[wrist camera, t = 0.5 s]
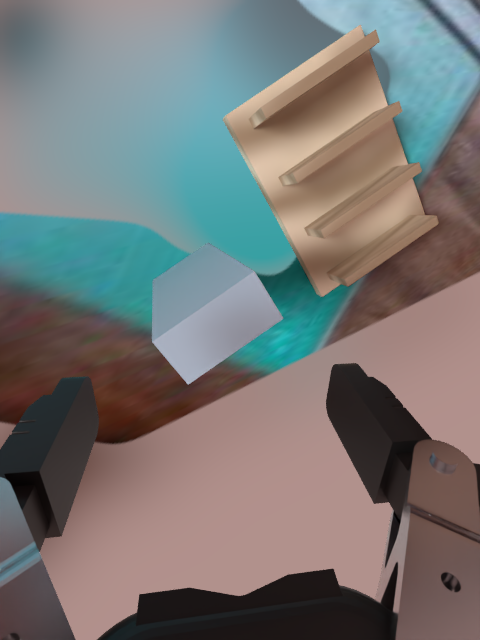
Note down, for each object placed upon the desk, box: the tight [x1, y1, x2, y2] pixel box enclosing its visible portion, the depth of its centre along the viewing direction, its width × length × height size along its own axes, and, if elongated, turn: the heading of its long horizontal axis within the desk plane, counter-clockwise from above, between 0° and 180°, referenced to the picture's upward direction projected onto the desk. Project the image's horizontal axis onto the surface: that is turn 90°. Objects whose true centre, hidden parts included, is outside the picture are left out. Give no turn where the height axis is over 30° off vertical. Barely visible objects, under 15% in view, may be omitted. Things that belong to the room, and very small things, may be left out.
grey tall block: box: [152, 243, 283, 384], centre depth 24 cm, size 3×6×15 cm, turn 122°
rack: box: [223, 25, 439, 297], centre depth 29 cm, size 18×13×4 cm
